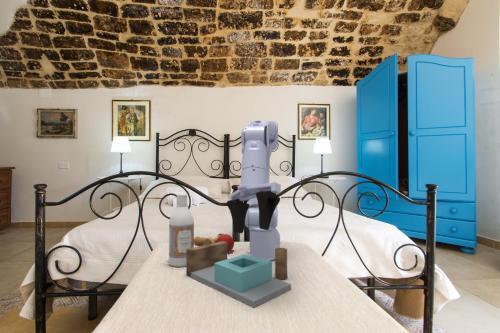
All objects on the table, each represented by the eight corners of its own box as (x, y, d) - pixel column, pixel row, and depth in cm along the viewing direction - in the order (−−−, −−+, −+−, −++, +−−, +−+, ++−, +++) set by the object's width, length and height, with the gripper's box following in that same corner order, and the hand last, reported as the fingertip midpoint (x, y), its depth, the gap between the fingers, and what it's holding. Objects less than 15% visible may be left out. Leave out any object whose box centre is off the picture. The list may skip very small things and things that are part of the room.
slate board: (222, 264, 79) (222, 260, 79) (291, 289, 62) (290, 284, 62) (186, 275, 70) (186, 270, 71) (253, 307, 54) (253, 301, 54)
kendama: (186, 251, 97) (222, 253, 86) (188, 232, 99) (223, 232, 88) (203, 250, 103) (239, 252, 92) (204, 233, 105) (239, 233, 93)
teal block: (245, 269, 71) (245, 254, 71) (272, 279, 65) (272, 262, 65) (214, 280, 64) (214, 263, 64) (241, 292, 58) (241, 272, 58)
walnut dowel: (280, 274, 71) (280, 247, 71) (289, 277, 69) (289, 249, 69) (272, 277, 69) (272, 249, 69) (282, 280, 67) (282, 251, 67)
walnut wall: (222, 264, 79) (222, 241, 79) (227, 265, 78) (227, 242, 78) (186, 275, 70) (186, 249, 71) (190, 277, 69) (190, 250, 69)
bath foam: (172, 269, 75) (172, 195, 75) (166, 262, 81) (167, 193, 81) (196, 265, 78) (197, 194, 79) (189, 258, 84) (190, 192, 85)
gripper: (220, 174, 66) (215, 231, 61) (265, 157, 57) (263, 223, 51) (241, 182, 71) (238, 235, 66) (286, 168, 61) (287, 230, 56)
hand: (251, 231), depth 59 cm, fingers open, 7 cm apart
